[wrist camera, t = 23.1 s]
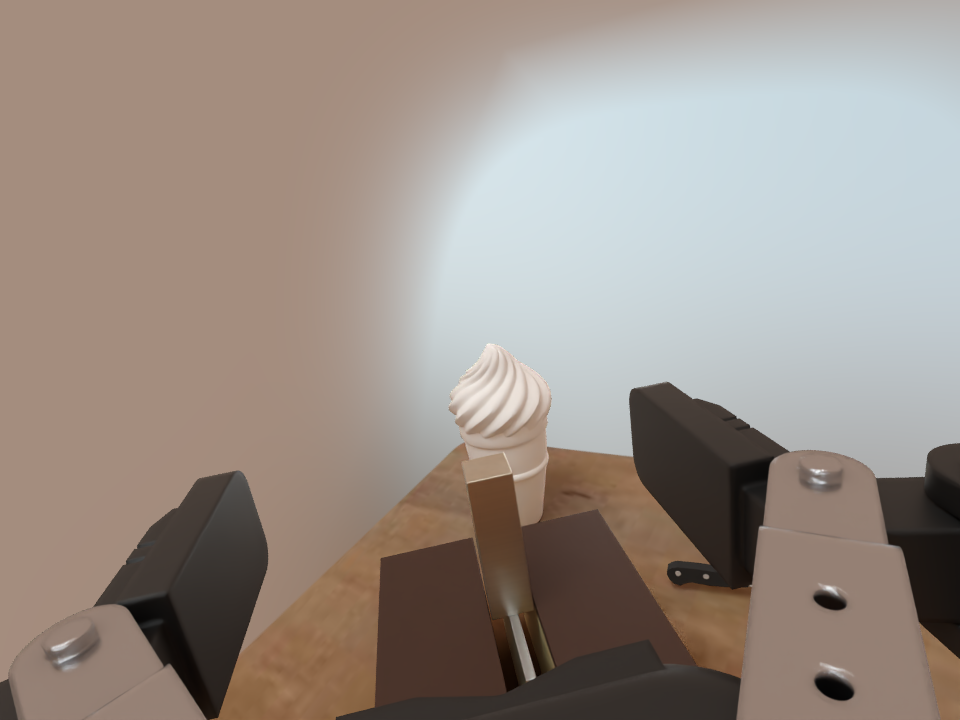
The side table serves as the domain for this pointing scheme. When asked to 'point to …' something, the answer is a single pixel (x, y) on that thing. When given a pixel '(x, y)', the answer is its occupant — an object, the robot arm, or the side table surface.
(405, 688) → the cake
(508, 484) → the tall metal bar
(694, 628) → the side table surface
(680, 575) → the knife
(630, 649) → the robot arm
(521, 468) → the ice cream cone
